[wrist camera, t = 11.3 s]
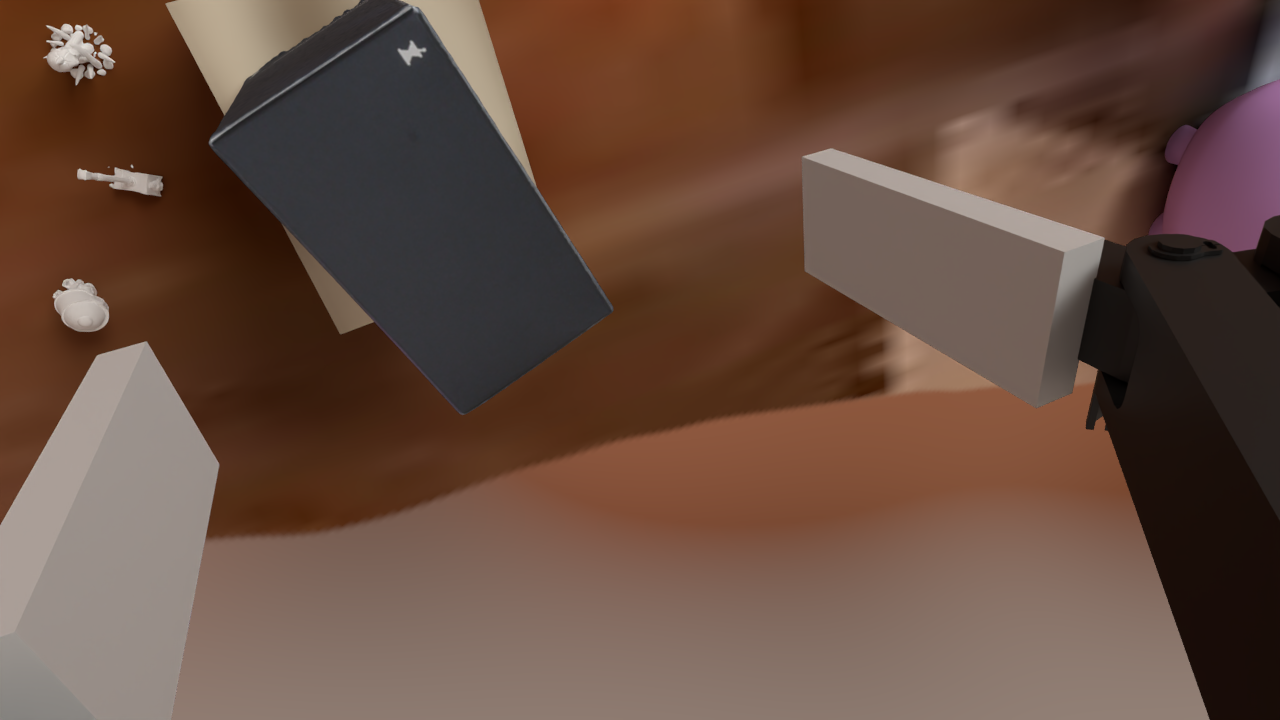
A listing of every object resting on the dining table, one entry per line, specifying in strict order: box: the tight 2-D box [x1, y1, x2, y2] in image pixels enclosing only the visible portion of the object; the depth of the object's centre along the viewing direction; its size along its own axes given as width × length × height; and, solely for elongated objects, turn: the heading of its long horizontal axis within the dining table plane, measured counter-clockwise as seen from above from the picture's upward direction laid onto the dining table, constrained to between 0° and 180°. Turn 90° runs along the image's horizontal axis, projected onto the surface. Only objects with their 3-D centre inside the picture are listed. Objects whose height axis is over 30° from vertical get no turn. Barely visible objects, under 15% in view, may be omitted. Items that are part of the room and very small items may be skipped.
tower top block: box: [166, 0, 536, 335], centre depth 29 cm, size 10×13×4 cm
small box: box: [209, 0, 613, 415], centre depth 24 cm, size 11×6×10 cm, turn 29°
